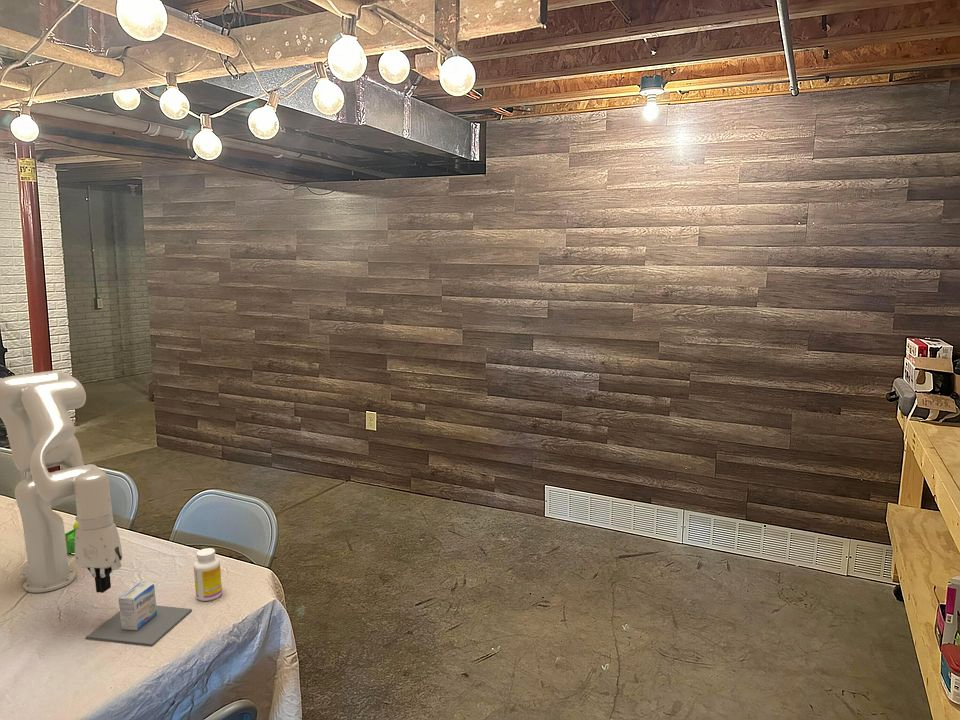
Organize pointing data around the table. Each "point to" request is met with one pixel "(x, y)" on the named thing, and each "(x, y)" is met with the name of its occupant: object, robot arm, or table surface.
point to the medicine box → (137, 606)
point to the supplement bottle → (207, 575)
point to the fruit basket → (71, 539)
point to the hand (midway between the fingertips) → (103, 589)
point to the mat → (146, 633)
